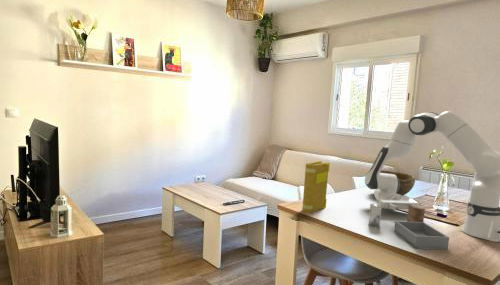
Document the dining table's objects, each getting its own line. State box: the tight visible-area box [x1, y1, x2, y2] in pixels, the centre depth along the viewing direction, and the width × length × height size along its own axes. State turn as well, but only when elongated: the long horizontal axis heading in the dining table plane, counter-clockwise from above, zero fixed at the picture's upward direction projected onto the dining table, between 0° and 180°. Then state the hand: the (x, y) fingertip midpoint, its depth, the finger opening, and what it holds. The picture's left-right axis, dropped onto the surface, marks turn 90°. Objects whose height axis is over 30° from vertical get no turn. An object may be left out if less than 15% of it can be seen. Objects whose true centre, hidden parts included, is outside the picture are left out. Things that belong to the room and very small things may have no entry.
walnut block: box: [406, 204, 426, 222], centre depth 157 cm, size 5×5×10 cm
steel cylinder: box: [368, 203, 382, 228], centre depth 156 cm, size 5×5×10 cm
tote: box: [393, 220, 450, 250], centre depth 141 cm, size 14×18×5 cm
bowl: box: [380, 169, 416, 196], centre depth 213 cm, size 28×27×15 cm
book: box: [301, 160, 331, 214], centre depth 175 cm, size 17×7×25 cm, turn 141°
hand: (405, 208), depth 166 cm, fingers open, 8 cm apart
